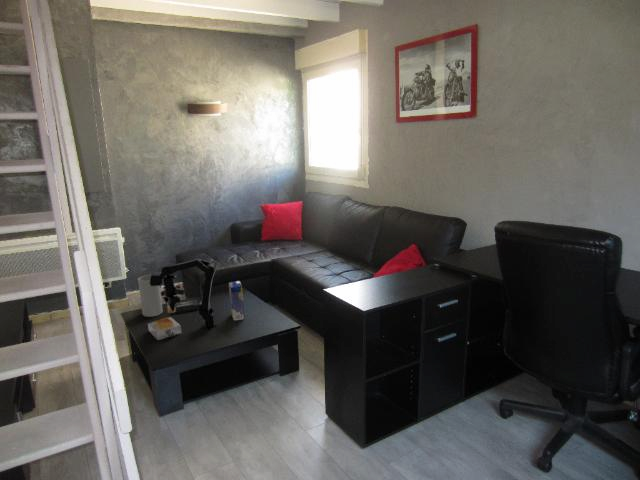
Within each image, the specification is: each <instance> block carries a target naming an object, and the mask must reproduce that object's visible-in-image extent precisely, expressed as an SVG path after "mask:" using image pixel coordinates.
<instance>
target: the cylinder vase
mask: <svg viewBox="0 0 640 480" xmlns="http://www.w3.org/2000/svg"><path fill="white" fill-rule="evenodd" d="M151 275H152V274H145V275H142V276H139V277H138V278H137V281H138V288H139V289H138V290H139V297H140V303H141V311H142V316H143V317H146V318H153V317H157V316H160V315H161V314H162V313H163V312H164V311H163V310H164V309H163V303H162V296H161V286H151V285H150V278H151Z"/></svg>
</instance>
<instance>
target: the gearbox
mask: <svg viewBox="0 0 640 480" xmlns="http://www.w3.org/2000/svg"><path fill="white" fill-rule="evenodd" d="M147 327H148V332H149V333H150V334H151V335H152V336H153V337H154V338H155V339H156V340H157V341H159V340H163V339H167V338H172V337H174V336H177V335H180V334H182V326H181V324H180V323H179V322H177V321H176V320H175V319H174V318H173V317H172V316H169V317H164V318H160V319H157V320H155V321H152V322H148V323H147Z"/></svg>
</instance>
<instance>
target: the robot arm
mask: <svg viewBox="0 0 640 480" xmlns="http://www.w3.org/2000/svg"><path fill="white" fill-rule="evenodd" d="M195 267H197V268H198V269H199V270H201V272H203V273H204V279H205V281H204V289H203V293H202V297H203V301H201V300H200V301H199V303H198V304H199V305H198V306H199V309H198V310H197V311H198V314H199V316H201V317H202V319H203V323H204V324H202V326H203V328H205V329H206V330H208V329H211V328H214V327H217V324H216V323H215V319H214V313H215V310H214V309H213V308H212V307H211V302H210V300H211V292H212V285H213V279H214V276H215V274H216V270H217V266H216V264H215V263H211V262H208V261H207V260H203V259H201V258H199V257H197V258H195V259H192V260H187V261H184V262H180V263H166V264H165V265H164V266H163V267H162V268H161V273H159V274H150V275H151V278H150V285H151V286H160V287H162V285H163V287H162V288H163V290H160V293H161V298H162V299H163V300H164V302H165V304H166V305H167V301H168V304H169V306H170V308H171V310H172V311H174V309H175V304H176V303H180V302H182V300H181V298H180V296H178V295H181V296H184V293H185V291H186V289H184V288H183V287H181V286H180V285H176V286H175V281H174V280H175V279H176V278H177V277H178V276H177V274H175V273H177V272H179V271H183V270H187V269H192V268H195Z"/></svg>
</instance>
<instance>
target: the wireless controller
mask: <svg viewBox="0 0 640 480" xmlns="http://www.w3.org/2000/svg"><path fill="white" fill-rule="evenodd" d="M199 287H200V288H199V292H200V293H199V294H200V302H201V301H203V291H202V283H201V281H200V282H199ZM175 307H176V312H175V313H173V314H174V315H176V313H177V314H181V313H182V312H183V313H189V312H193V311H194V310H195V311H198V309H199V303H198V300H197V299H194V300H193V299H192V300H188V301H181V302H177V303H176V304H175ZM188 311H189V312H188ZM183 313H182V314H183Z"/></svg>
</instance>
